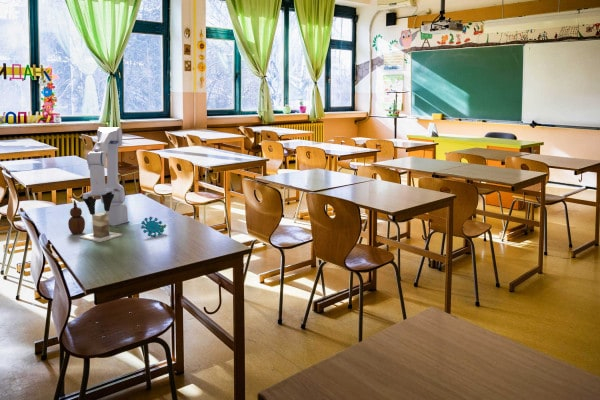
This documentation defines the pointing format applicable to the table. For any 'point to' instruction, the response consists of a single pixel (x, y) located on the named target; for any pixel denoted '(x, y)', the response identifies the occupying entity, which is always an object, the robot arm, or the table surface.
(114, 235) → the board
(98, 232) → the walnut block
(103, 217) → the birch block
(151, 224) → the teal virus model
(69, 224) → the brown gourd
